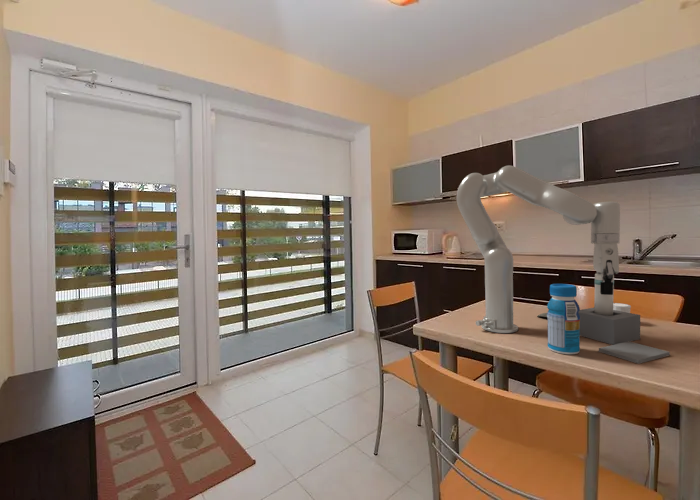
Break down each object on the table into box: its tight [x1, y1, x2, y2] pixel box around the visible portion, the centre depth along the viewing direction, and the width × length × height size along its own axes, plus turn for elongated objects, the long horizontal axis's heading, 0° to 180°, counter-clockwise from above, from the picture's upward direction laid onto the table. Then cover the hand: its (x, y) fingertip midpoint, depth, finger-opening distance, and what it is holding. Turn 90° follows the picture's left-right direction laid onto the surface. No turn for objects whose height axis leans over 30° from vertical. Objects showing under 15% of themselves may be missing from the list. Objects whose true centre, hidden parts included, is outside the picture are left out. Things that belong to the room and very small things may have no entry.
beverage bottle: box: [546, 283, 581, 355], centre depth 97 cm, size 8×8×20 cm
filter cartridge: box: [593, 273, 615, 316], centre depth 107 cm, size 5×5×14 cm
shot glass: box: [613, 302, 632, 313], centre depth 122 cm, size 7×7×7 cm
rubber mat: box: [598, 341, 671, 364], centre depth 93 cm, size 14×10×1 cm
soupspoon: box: [537, 312, 547, 318], centre depth 125 cm, size 22×3×7 cm
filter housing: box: [578, 307, 641, 345], centre depth 108 cm, size 13×13×8 cm
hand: (603, 292), depth 107 cm, fingers closed on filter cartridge, 5 cm apart
